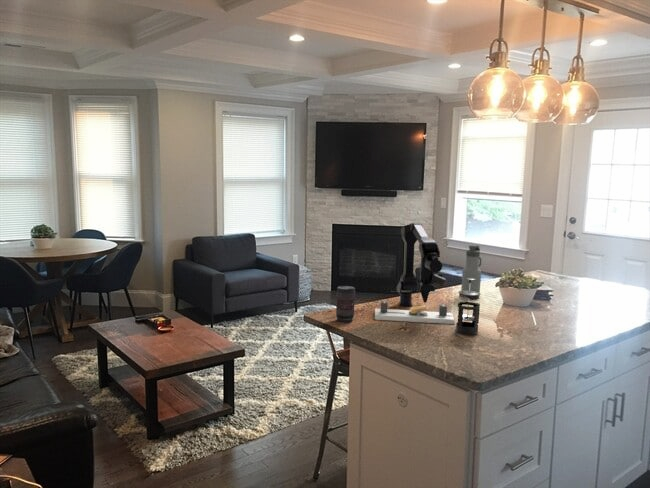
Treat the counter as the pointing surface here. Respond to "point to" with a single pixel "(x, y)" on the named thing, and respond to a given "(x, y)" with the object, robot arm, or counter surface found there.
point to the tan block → (414, 309)
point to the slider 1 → (384, 306)
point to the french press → (468, 327)
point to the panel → (414, 316)
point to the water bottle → (472, 270)
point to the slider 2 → (443, 310)
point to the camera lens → (345, 304)
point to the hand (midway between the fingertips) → (425, 302)
